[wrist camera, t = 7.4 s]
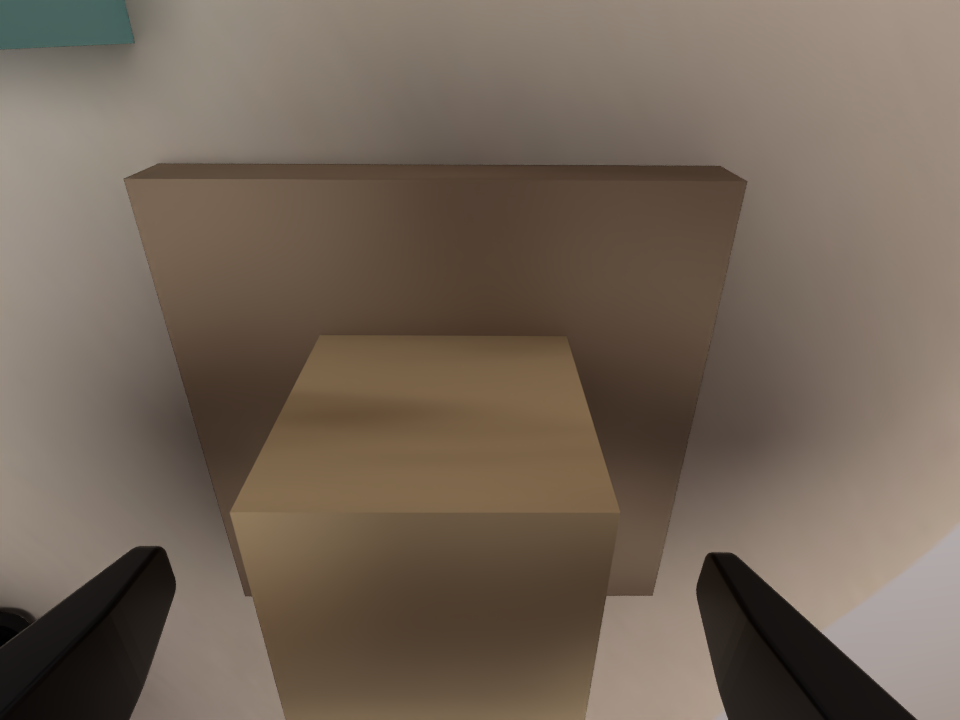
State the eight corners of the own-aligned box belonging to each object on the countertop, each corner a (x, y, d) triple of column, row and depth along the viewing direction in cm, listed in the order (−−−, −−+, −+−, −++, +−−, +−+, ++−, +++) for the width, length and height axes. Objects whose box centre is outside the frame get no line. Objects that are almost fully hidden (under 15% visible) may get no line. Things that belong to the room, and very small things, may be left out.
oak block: (549, 517, 14) (583, 730, 10) (345, 517, 14) (288, 732, 10) (566, 336, 12) (620, 512, 8) (320, 335, 12) (230, 512, 7)
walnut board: (635, 539, 18) (652, 595, 16) (267, 539, 17) (244, 596, 16) (708, 159, 12) (747, 181, 10) (174, 156, 12) (123, 179, 10)
